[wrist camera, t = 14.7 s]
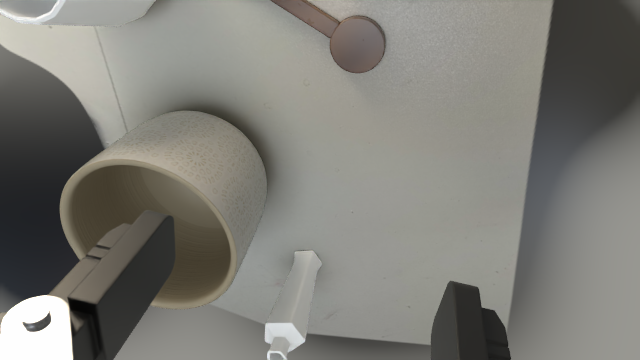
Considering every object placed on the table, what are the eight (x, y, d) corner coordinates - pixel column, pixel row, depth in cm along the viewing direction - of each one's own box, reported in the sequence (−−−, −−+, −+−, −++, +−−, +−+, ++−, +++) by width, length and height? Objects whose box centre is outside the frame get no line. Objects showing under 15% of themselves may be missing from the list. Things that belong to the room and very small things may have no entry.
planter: (114, 133, 56) (22, 203, 43) (222, 65, 49) (151, 125, 36) (202, 238, 62) (144, 327, 49) (308, 191, 55) (274, 281, 42)
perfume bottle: (323, 277, 61) (297, 376, 49) (290, 271, 62) (257, 367, 49) (326, 251, 59) (300, 347, 46) (292, 244, 59) (257, 338, 47)
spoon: (205, -22, 45) (201, -20, 44) (226, -75, 42) (222, -75, 41) (366, 79, 47) (365, 83, 46) (396, 35, 44) (395, 37, 43)
